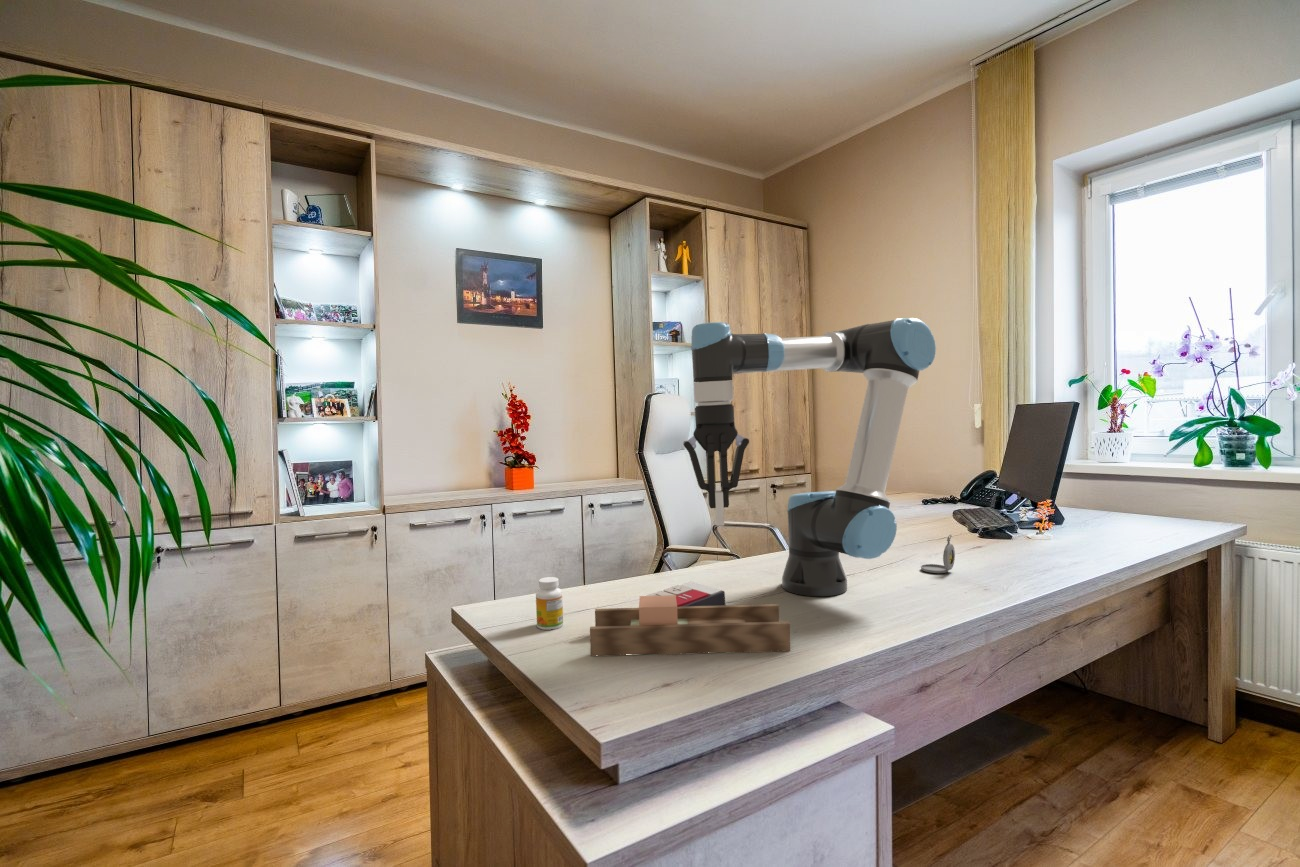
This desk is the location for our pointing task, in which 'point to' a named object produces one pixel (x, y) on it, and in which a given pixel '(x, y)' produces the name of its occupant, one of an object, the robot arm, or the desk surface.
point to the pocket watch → (947, 560)
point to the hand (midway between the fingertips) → (719, 524)
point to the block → (658, 610)
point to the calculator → (694, 595)
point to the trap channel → (691, 631)
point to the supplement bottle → (549, 604)
